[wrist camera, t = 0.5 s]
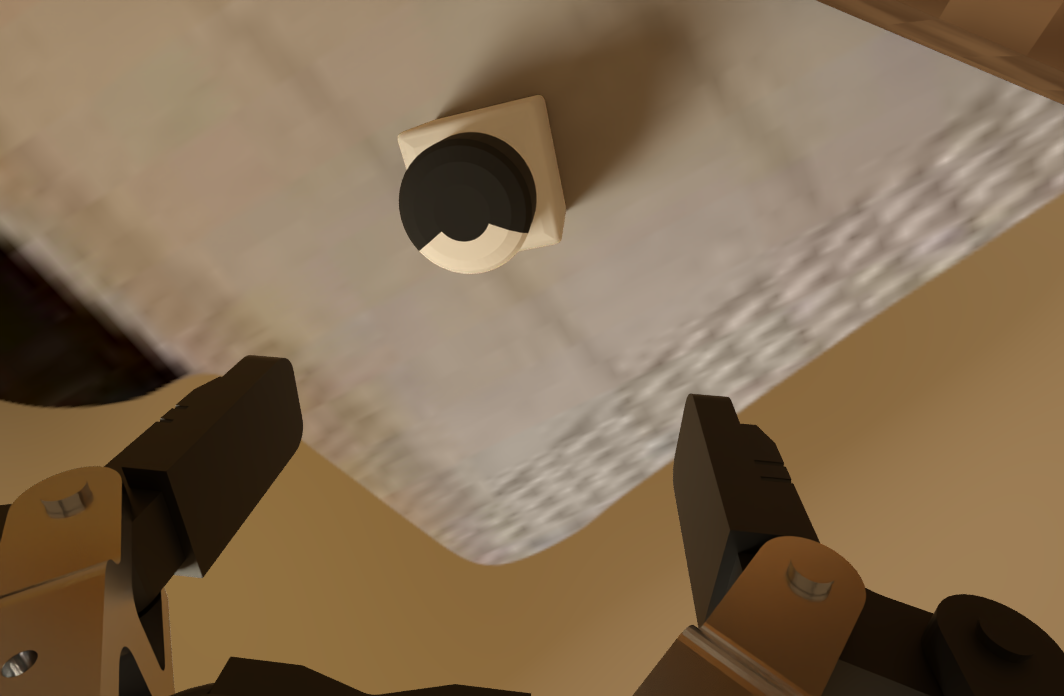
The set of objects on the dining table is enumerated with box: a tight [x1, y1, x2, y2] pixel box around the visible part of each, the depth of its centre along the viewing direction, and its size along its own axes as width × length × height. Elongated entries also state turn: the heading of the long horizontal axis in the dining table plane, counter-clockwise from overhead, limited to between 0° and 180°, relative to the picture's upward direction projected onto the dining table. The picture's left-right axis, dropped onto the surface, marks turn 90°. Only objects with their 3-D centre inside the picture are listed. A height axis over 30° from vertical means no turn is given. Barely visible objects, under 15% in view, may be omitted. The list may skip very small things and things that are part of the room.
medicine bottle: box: [398, 95, 566, 274], centre depth 30 cm, size 7×7×12 cm
